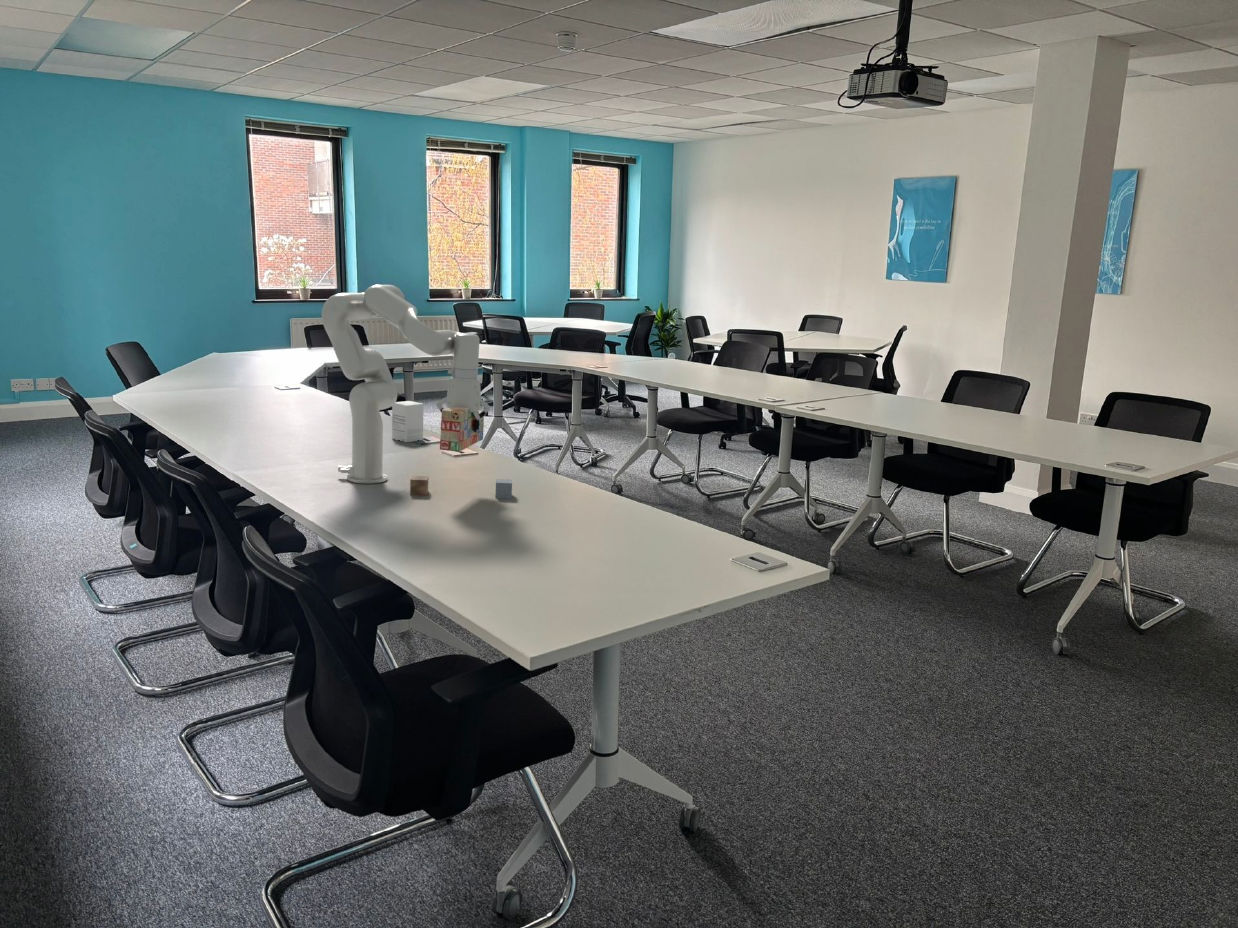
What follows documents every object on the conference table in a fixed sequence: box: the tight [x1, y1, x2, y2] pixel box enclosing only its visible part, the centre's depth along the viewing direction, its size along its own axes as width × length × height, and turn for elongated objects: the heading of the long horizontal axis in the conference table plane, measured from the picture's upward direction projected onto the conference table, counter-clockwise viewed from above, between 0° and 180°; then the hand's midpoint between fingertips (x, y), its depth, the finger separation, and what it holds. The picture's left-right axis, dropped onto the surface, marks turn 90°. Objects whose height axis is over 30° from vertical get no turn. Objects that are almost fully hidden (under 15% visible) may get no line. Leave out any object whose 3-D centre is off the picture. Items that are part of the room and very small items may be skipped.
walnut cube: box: [409, 475, 429, 497], centre depth 274 cm, size 5×5×5 cm
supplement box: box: [391, 400, 424, 443], centre depth 352 cm, size 9×9×15 cm
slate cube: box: [494, 478, 513, 500], centre depth 277 cm, size 5×5×5 cm
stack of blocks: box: [439, 407, 485, 453], centre depth 273 cm, size 21×6×12 cm, turn 169°
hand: (462, 430), depth 273 cm, fingers closed on stack of blocks, 7 cm apart
